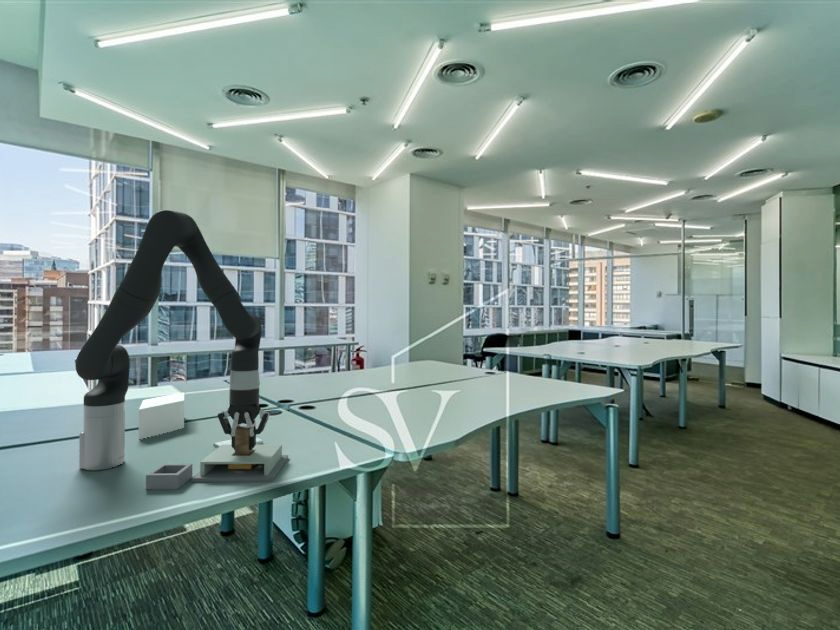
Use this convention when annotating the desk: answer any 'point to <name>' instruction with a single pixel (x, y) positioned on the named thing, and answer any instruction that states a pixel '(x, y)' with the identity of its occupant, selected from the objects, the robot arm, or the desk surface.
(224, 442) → the external hard drive
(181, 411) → the white rectangular box
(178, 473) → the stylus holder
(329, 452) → the desk surface
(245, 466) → the breaker button
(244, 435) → the brown block
